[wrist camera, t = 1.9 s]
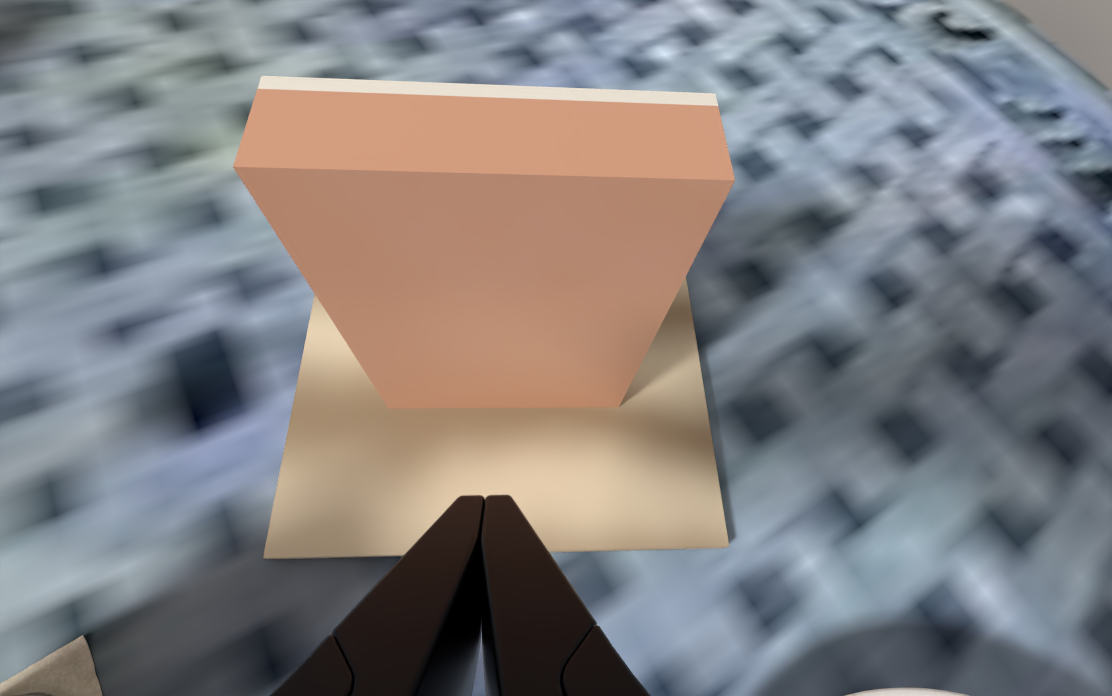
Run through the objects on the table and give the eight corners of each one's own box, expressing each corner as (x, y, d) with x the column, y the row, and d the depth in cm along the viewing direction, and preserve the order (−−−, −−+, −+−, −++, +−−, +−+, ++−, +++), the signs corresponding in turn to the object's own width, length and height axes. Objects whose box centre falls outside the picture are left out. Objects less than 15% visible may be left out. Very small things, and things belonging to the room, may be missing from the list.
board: (724, 548, 22) (729, 546, 21) (269, 559, 21) (262, 558, 20) (658, 127, 32) (660, 119, 32) (354, 117, 31) (351, 108, 30)
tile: (618, 407, 24) (735, 180, 11) (388, 408, 23) (232, 166, 10) (614, 354, 25) (715, 93, 12) (394, 353, 24) (261, 76, 11)
